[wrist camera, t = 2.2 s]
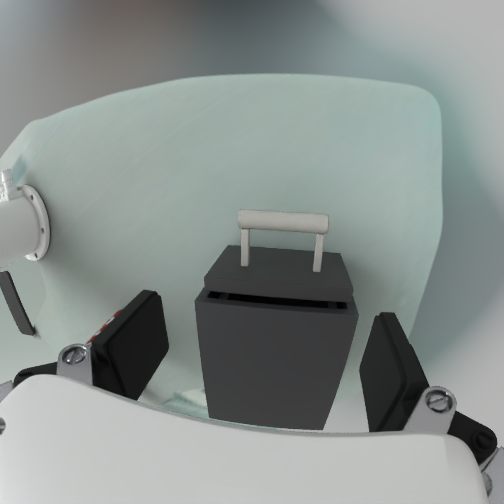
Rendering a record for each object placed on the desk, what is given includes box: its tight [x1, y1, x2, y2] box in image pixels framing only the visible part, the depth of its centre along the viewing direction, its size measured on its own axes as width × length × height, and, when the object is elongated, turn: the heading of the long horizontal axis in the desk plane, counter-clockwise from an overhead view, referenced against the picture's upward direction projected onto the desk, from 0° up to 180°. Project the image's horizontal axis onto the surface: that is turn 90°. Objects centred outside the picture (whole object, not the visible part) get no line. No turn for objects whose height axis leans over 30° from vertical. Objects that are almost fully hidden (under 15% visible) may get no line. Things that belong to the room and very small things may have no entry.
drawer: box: [204, 209, 353, 309], centre depth 26 cm, size 19×11×8 cm, turn 179°
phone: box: [0, 271, 35, 336], centre depth 42 cm, size 7×1×15 cm
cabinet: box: [195, 287, 359, 430], centre depth 27 cm, size 16×13×10 cm
